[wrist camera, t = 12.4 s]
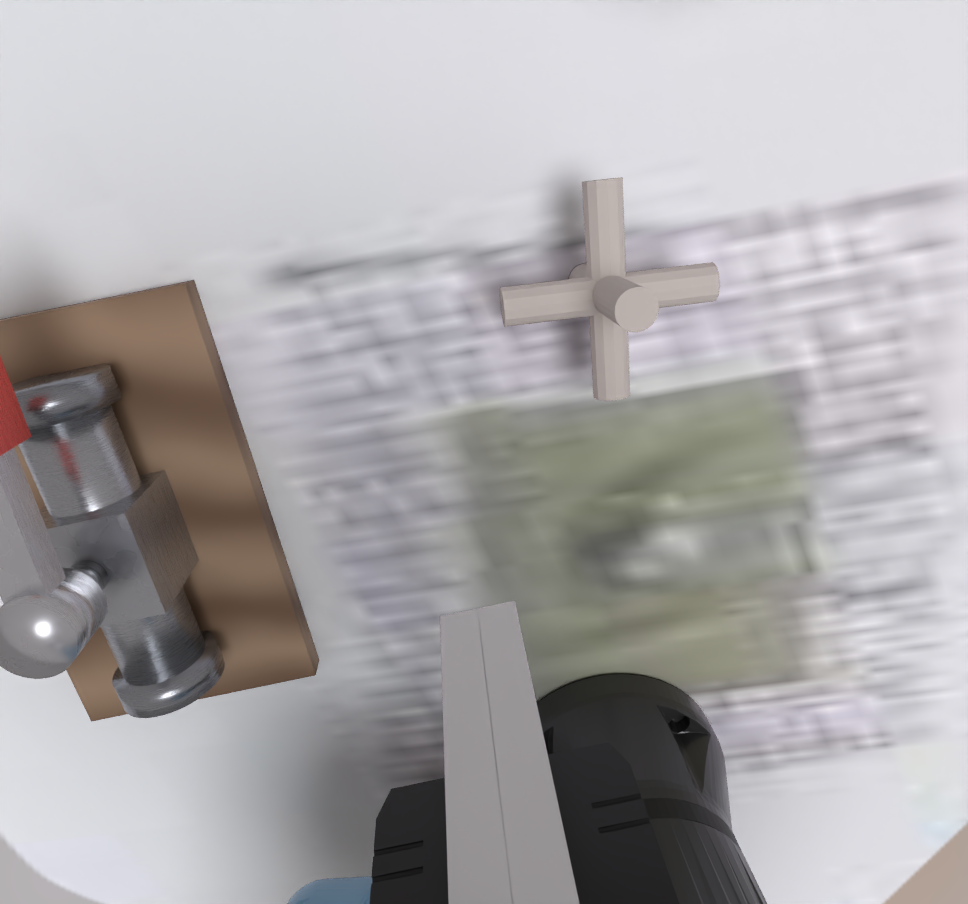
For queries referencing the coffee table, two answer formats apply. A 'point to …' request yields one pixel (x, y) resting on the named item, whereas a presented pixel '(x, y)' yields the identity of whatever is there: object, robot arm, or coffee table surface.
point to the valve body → (119, 538)
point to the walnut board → (179, 476)
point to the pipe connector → (609, 291)
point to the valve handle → (36, 570)
